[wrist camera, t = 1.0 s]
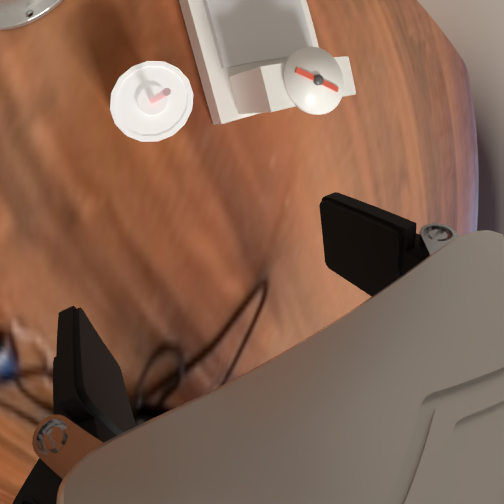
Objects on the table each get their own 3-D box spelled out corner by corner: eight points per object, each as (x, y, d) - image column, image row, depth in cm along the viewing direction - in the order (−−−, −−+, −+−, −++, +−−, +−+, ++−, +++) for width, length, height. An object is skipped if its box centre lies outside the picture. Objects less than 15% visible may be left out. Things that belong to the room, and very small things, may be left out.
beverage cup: (127, 152, 28) (147, 165, 16) (96, 102, 24) (92, 77, 13) (178, 118, 29) (235, 110, 17) (149, 69, 26) (188, 25, 14)
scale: (172, -22, 22) (203, -67, 14) (283, -29, 26) (334, -56, 18) (214, 130, 31) (258, 132, 23) (317, 103, 35) (376, 103, 27)
